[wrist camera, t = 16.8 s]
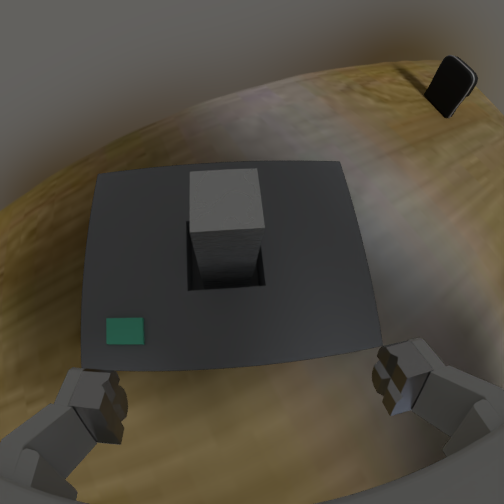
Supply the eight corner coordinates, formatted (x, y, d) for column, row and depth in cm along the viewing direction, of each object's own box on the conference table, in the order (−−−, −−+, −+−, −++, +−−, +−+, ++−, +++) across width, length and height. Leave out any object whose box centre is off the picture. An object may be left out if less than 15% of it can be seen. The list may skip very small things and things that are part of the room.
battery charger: (455, 118, 43) (483, 77, 33) (446, 120, 42) (475, 77, 32) (431, 93, 45) (455, 52, 35) (421, 94, 45) (446, 50, 34)
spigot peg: (245, 247, 29) (257, 168, 18) (249, 288, 27) (265, 227, 16) (202, 249, 28) (189, 171, 17) (204, 291, 27) (189, 232, 16)
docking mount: (326, 188, 33) (341, 159, 28) (358, 350, 27) (385, 344, 22) (112, 200, 31) (96, 171, 26) (104, 370, 24) (79, 368, 19)
